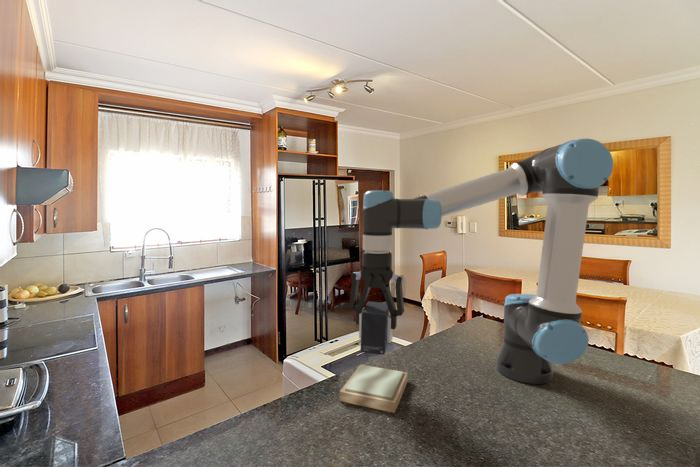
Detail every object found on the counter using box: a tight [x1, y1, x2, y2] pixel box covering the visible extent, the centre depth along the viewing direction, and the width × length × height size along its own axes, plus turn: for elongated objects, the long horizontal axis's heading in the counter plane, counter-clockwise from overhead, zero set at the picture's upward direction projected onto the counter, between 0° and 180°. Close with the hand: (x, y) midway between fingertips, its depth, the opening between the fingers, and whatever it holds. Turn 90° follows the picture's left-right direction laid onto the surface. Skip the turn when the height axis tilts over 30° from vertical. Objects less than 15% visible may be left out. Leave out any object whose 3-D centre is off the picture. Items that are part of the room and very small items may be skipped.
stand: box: [339, 364, 409, 414], centre depth 92 cm, size 14×16×3 cm
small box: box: [359, 300, 390, 355], centre depth 91 cm, size 11×6×10 cm, turn 168°
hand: (375, 338), depth 91 cm, fingers closed on small box, 7 cm apart
